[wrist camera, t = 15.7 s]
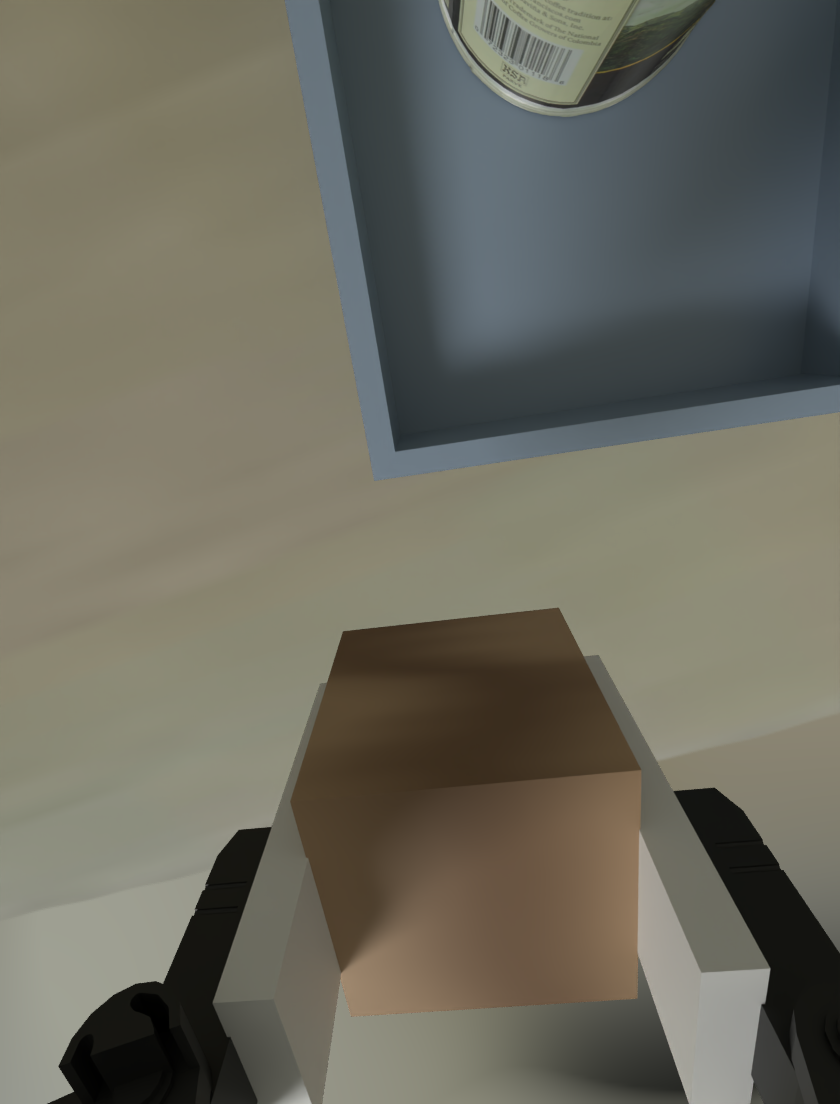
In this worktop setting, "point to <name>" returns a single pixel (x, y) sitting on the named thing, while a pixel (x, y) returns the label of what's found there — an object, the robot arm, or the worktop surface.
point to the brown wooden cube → (472, 819)
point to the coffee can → (569, 47)
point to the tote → (577, 236)
